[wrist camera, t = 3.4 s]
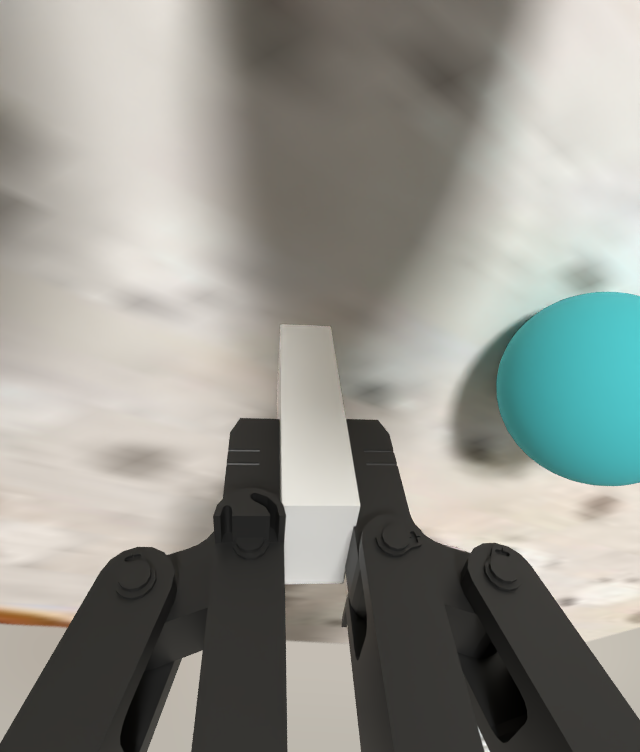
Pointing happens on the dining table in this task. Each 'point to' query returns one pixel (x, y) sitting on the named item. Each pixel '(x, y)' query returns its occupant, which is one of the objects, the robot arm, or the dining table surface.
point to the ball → (577, 388)
